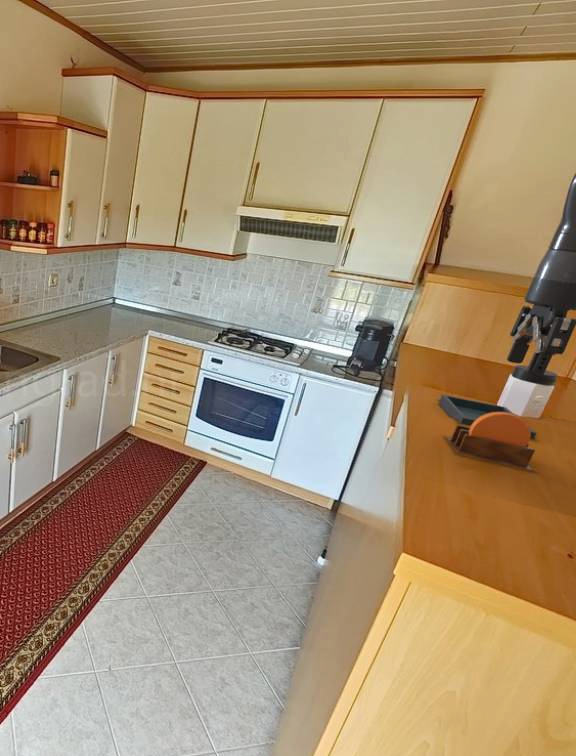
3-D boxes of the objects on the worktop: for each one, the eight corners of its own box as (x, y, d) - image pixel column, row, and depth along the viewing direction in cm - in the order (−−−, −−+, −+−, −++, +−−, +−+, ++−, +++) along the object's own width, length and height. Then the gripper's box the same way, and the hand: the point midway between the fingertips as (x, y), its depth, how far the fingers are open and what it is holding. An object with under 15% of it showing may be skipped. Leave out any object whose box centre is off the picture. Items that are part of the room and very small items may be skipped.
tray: (501, 416, 123) (505, 406, 122) (531, 443, 108) (536, 433, 107) (438, 403, 128) (442, 394, 127) (458, 427, 113) (463, 417, 112)
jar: (511, 418, 122) (532, 373, 118) (486, 406, 130) (505, 363, 126) (547, 422, 122) (569, 377, 118) (520, 409, 130) (540, 367, 126)
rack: (512, 456, 100) (522, 436, 99) (531, 476, 92) (542, 454, 91) (443, 440, 104) (451, 421, 103) (456, 458, 97) (465, 437, 95)
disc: (515, 459, 96) (535, 418, 93) (519, 462, 95) (539, 421, 91) (461, 447, 99) (478, 406, 96) (463, 450, 98) (481, 409, 95)
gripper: (616, 286, 76) (569, 383, 82) (569, 277, 88) (531, 362, 94) (556, 279, 79) (514, 374, 84) (518, 272, 91) (484, 354, 97)
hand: (523, 367), depth 89 cm, fingers open, 8 cm apart
